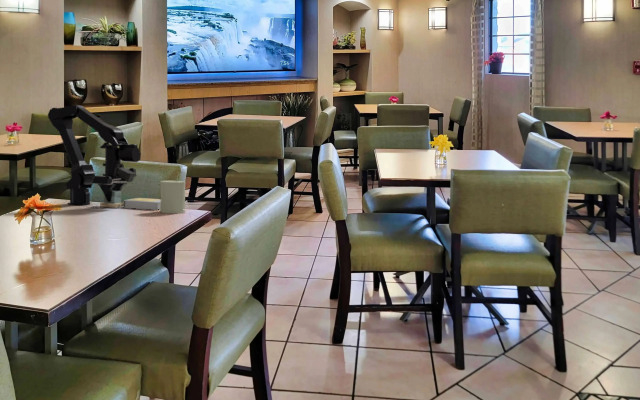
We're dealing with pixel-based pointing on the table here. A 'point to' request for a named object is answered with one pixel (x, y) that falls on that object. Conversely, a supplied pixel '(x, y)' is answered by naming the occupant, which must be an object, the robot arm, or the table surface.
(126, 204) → the dock
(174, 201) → the can
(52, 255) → the table surface
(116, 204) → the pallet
